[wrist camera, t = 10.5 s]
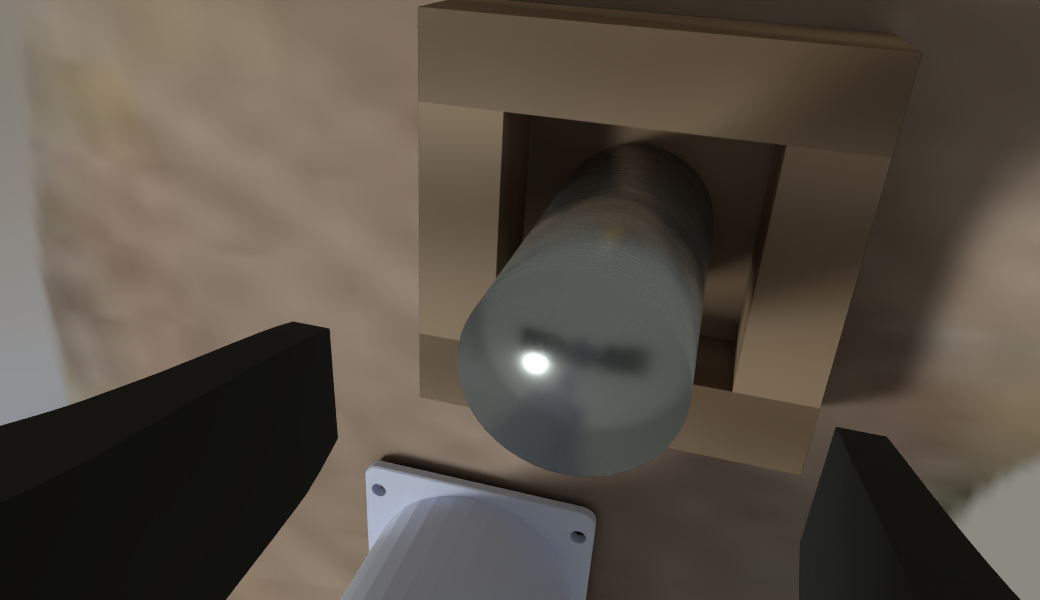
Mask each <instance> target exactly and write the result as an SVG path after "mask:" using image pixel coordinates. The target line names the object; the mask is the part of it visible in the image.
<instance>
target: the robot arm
mask: <svg viewBox="0 0 1040 600" xmlns="http://www.w3.org/2000/svg"><path fill="white" fill-rule="evenodd" d="M337 439H338V434H337V421H336V407H335V394H334V381H333V368H332V355H331V342H330V329H329V328H324V327H318V326H313V325H308V324H303V323H298V322H290V323H287V324H283V325H280V326H277V327H274V328H271V329H268V330H266V331H263V332H260V333H257V334H255V335H252V336H250V337H247V338H245V339H242V340H240V341H237V342H235V343H232V344H230V345H227V346H225V347H222V348H220V349H217V350H215V351H212V352H210V353H207V354H205V355H202V356H200V357H197V358H195V359H192V360H190V361H187V362H185V363H182V364H180V365H177V366H175V367H172V368H170V369H167V370H165V371H162V372H160V373H157V374H155V375H152V376H149V377H146V378H144V379H141V380H138V381H136V382H133V383H130V384H127V385H125V386H122V387H119V388H116V389H114V390H111V391H108V392H105V393H103V394H100V395H97V396H95V397H92V398H89V399H86V400H83V401H80V402H77V403H74V404H71V405H68V406H66V407H63V408H59V409H56V410H53V411H50V412H46V413H43V414H40V415H36V416H33V417H29V418H26V419H22V420H19V421H16V422H12V423H9V424H5V425H2V426H0V600H226V599H227V598H228V596H229V595H230V594H231V592H232V591H233V590H234V588H235V587H236V586H237V585H238V583H239V582H240V581H241V579H242V578H243V577H244V575H245V574H246V573H247V572H248V570H249V569H250V568H251V566H252V565H253V564H254V563H255V561H256V560H257V559H258V557H259V556H260V555H261V553H262V552H263V551H264V550H265V548H266V547H267V546H268V544H269V543H270V542H271V541H272V539H273V538H274V537H275V535H276V534H277V533H278V531H279V530H280V529H281V527H282V526H283V525H284V523H285V522H286V521H287V519H288V518H289V517H290V515H291V514H292V513H293V512H294V510H295V509H296V508H297V506H298V505H299V503H300V502H301V501H302V499H303V498H304V497H305V495H306V494H307V492H308V491H309V489H310V487H311V486H312V484H313V482H314V480H315V479H316V477H317V475H318V474H319V472H320V470H321V469H322V467H323V465H324V463H325V461H326V459H327V458H328V456H329V454H330V452H331V450H332V448H333V446H334V445H335V443H336V441H337ZM378 484H379V485H382V486H383V487H384V488H385V489H383V488H381V487H380V486H379V485H378ZM366 496H367V517H368V538H369V553H368V555H367V557H366V558H365V560H364V562H363V563H362V565H361V567H360V568H359V570H358V572H357V573H356V575H355V577H354V578H353V580H352V581H351V583H350V585H349V586H348V588H347V590H346V591H345V593H344V595H343V596H342V598H341V600H586V596H587V589H588V581H589V574H590V567H591V559H592V552H593V544H594V537H595V530H596V516H595V515H594V513H593V512H592V511H591V510H589V509H587V508H585V507H582V506H577V505H573V504H569V503H564V502H560V501H556V500H551V499H547V498H542V497H538V496H534V495H529V494H525V493H520V492H516V491H512V490H507V489H503V488H499V487H494V486H490V485H485V484H481V483H477V482H472V481H468V480H463V479H459V478H455V477H450V476H446V475H441V474H437V473H433V472H428V471H424V470H420V469H415V468H411V467H406V466H402V465H398V464H393V463H389V462H384V461H375V462H373V463H372V464H371V465H370V466H369V468H368V469H367V470H366ZM574 531H579V532H582V533H583V534H584V535H578V534H576V533H575V532H574ZM799 600H1020V599H1019V598H1018V597H1017V595H1016V594H1015V593H1014V592H1013V591H1012V590H1011V589H1010V588H1009V587H1008V585H1007V584H1006V583H1005V582H1004V581H1003V580H1002V579H1001V578H1000V576H999V575H998V574H997V573H996V572H995V571H994V570H993V568H992V567H991V566H990V565H989V564H988V563H987V561H986V560H985V559H984V558H983V557H982V556H981V554H980V553H979V552H978V551H977V550H976V548H975V547H974V546H973V545H972V544H971V542H970V541H969V540H968V539H967V538H966V536H965V535H964V534H963V533H962V532H961V530H960V529H959V528H958V527H957V525H956V524H955V523H954V522H953V521H952V519H951V518H950V517H949V516H948V514H947V513H946V512H945V511H944V509H943V508H942V507H941V506H940V504H939V503H938V502H937V500H936V499H935V498H934V497H933V495H932V494H931V493H930V492H929V490H928V489H927V488H926V486H925V485H924V484H923V483H922V481H921V480H920V479H919V477H918V476H917V475H916V474H915V472H914V471H913V470H912V468H911V467H910V466H909V465H908V463H907V462H906V461H905V459H904V458H903V457H902V455H901V454H900V453H899V452H898V450H897V449H896V448H895V447H894V445H893V444H892V443H891V442H890V440H889V439H888V438H887V437H886V436H880V435H875V434H870V433H865V432H860V431H855V430H849V429H844V428H839V427H836V428H835V431H834V435H833V438H832V441H831V444H830V448H829V451H828V454H827V457H826V461H825V464H824V467H823V470H822V474H821V477H820V480H819V483H818V487H817V490H816V493H815V496H814V499H813V503H812V506H811V509H810V512H809V516H808V519H807V522H806V525H805V529H804V532H803V535H802V538H801V542H800V574H799Z"/></svg>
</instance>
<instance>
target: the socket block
mask: <svg viewBox="0 0 1040 600" xmlns="http://www.w3.org/2000/svg"><path fill="white" fill-rule="evenodd" d="M921 55H922V52H920V51H919V50H917V49H916V48H914V47H913V46H911V45H910V44H908V43H907V42H905V41H904V40H903V39H901V38H900V37H898V36H897V35H895V34H890V33H879V32H867V31H856V30H844V29H833V28H821V27H810V26H798V25H787V24H775V23H764V22H752V21H741V20H729V19H718V18H706V17H695V16H683V15H672V14H660V13H649V12H637V11H626V10H614V9H603V8H591V7H580V6H568V5H557V4H545V3H534V2H522V1H511V0H446V1H441V2H437V3H432V4H428V5H424V6H419V7H418V142H419V337H420V397H423V398H428V399H433V400H438V401H443V402H447V403H452V404H457V405H462V406H467V407H469V405H468V403H467V400H466V398H465V396H464V393H463V390H462V387H461V384H460V380H459V375H458V365H457V354H458V345H459V341H460V336H461V333H462V330H463V328H464V325H465V323H466V321H467V319H468V318H469V316H470V314H471V313H472V311H473V309H474V308H475V307H476V305H477V304H478V303H479V301H480V300H481V299H482V297H483V296H484V294H485V293H486V292H487V290H488V289H489V288H490V286H491V285H492V283H493V282H494V281H495V279H496V278H497V277H498V275H499V274H500V272H501V271H502V270H503V268H504V267H505V266H506V264H507V263H508V262H509V260H510V259H511V257H512V256H513V255H514V253H515V252H516V251H517V249H518V248H519V246H520V245H521V244H522V242H523V241H524V240H525V238H526V237H527V235H528V234H529V233H530V231H531V230H532V229H533V227H534V226H535V224H536V223H537V222H538V220H539V219H540V218H541V216H542V215H543V214H544V212H545V211H546V209H547V208H548V207H549V205H550V204H551V203H552V201H553V200H554V198H555V197H556V196H557V194H558V193H559V192H560V190H561V189H562V187H563V186H564V185H565V183H566V182H567V181H568V179H569V178H570V177H571V175H572V174H573V173H574V171H575V170H576V169H577V168H578V167H579V166H580V165H581V164H582V163H583V162H584V161H585V160H587V159H588V158H589V157H591V156H592V155H594V154H596V153H598V152H600V151H602V150H604V149H607V148H610V147H612V146H617V145H622V144H646V145H652V146H656V147H659V148H662V149H665V150H667V151H669V152H671V153H673V154H675V155H677V156H678V157H680V158H681V159H683V160H684V161H685V162H686V163H688V164H689V165H690V166H691V167H692V168H693V169H694V170H695V171H696V172H697V174H698V175H699V176H700V178H701V179H702V181H703V182H704V184H705V186H706V188H707V190H708V192H709V195H710V198H711V201H712V206H713V214H714V224H713V233H712V241H711V249H710V256H709V264H708V272H707V280H706V288H705V295H704V303H703V311H702V319H701V327H700V334H699V342H698V350H697V358H696V366H695V374H694V381H693V389H692V397H691V404H690V408H689V411H688V415H687V418H686V420H685V422H684V424H683V427H682V429H681V430H680V432H679V433H678V435H677V436H676V438H675V439H674V440H673V442H672V443H671V444H670V445H669V446H668V447H667V448H670V449H675V450H680V451H685V452H690V453H694V454H699V455H704V456H709V457H714V458H719V459H724V460H728V461H733V462H738V463H743V464H748V465H753V466H757V467H762V468H767V469H772V470H777V471H782V472H787V473H791V474H796V475H801V472H802V469H803V465H804V462H805V458H806V455H807V451H808V448H809V444H810V441H811V437H812V434H813V431H814V427H815V424H816V420H817V417H818V413H819V410H820V406H821V403H822V399H823V396H824V392H825V389H826V385H827V382H828V378H829V375H830V371H831V368H832V364H833V361H834V357H835V354H836V351H837V347H838V344H839V340H840V337H841V333H842V330H843V326H844V323H845V319H846V316H847V312H848V309H849V305H850V302H851V298H852V295H853V291H854V288H855V284H856V281H857V278H858V274H859V271H860V267H861V264H862V260H863V257H864V253H865V250H866V246H867V243H868V239H869V236H870V232H871V229H872V225H873V222H874V218H875V215H876V211H877V208H878V205H879V201H880V198H881V194H882V191H883V187H884V184H885V180H886V177H887V173H888V170H889V166H890V163H891V159H892V156H893V152H894V149H895V145H896V142H897V138H898V135H899V132H900V128H901V125H902V121H903V118H904V114H905V111H906V107H907V104H908V100H909V97H910V93H911V90H912V86H913V83H914V79H915V76H916V72H917V69H918V65H919V62H920V59H921Z"/></svg>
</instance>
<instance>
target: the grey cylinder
mask: <svg viewBox="0 0 1040 600" xmlns="http://www.w3.org/2000/svg"><path fill="white" fill-rule="evenodd" d="M713 224H714V214H713V206H712V201H711V198H710V195H709V192H708V190H707V188H706V186H705V184H704V182H703V181H702V179H701V178H700V176H699V175H698V174H697V172H696V171H695V170H694V169H693V168H692V167H691V166H690V165H689V164H688V163H686V162H685V161H684V160H683V159H681V158H680V157H678V156H677V155H675V154H673V153H671V152H669V151H667V150H665V149H662V148H659V147H656V146H652V145H646V144H622V145H617V146H612V147H610V148H607V149H604V150H602V151H600V152H598V153H596V154H594V155H592V156H591V157H589V158H588V159H587V160H585V161H584V162H583V163H582V164H581V165H580V166H579V167H578V168H577V169H576V170H575V171H574V173H573V174H572V175H571V177H570V178H569V179H568V181H567V182H566V183H565V185H564V186H563V187H562V189H561V190H560V192H559V193H558V194H557V196H556V197H555V198H554V200H553V201H552V203H551V204H550V205H549V207H548V208H547V209H546V211H545V212H544V214H543V215H542V216H541V218H540V219H539V220H538V222H537V223H536V224H535V226H534V227H533V229H532V230H531V231H530V233H529V234H528V235H527V237H526V238H525V240H524V241H523V242H522V244H521V245H520V246H519V248H518V249H517V251H516V252H515V253H514V255H513V256H512V257H511V259H510V260H509V262H508V263H507V264H506V266H505V267H504V268H503V270H502V271H501V272H500V274H499V275H498V277H497V278H496V279H495V281H494V282H493V283H492V285H491V286H490V288H489V289H488V290H487V292H486V293H485V294H484V296H483V297H482V299H481V300H480V301H479V303H478V304H477V305H476V307H475V308H474V309H473V311H472V313H471V314H470V316H469V318H468V319H467V321H466V323H465V325H464V328H463V330H462V333H461V336H460V341H459V345H458V354H457V365H458V375H459V380H460V384H461V387H462V390H463V393H464V396H465V398H466V400H467V403H468V405H469V407H470V409H471V410H472V412H473V413H474V415H475V417H476V418H477V420H478V421H479V422H480V423H481V425H482V426H483V427H484V428H485V430H486V431H487V432H488V433H489V434H490V435H491V436H492V437H493V438H494V439H495V440H496V441H497V442H499V443H500V444H501V445H502V446H504V447H505V448H506V449H507V450H509V451H510V452H512V453H513V454H515V455H517V456H518V457H520V458H521V459H523V460H525V461H527V462H529V463H531V464H533V465H536V466H538V467H541V468H544V469H546V470H549V471H553V472H557V473H560V474H566V475H572V476H583V477H597V476H608V475H614V474H619V473H623V472H626V471H629V470H632V469H635V468H637V467H639V466H642V465H644V464H645V463H647V462H649V461H650V460H652V459H654V458H655V457H657V456H658V455H659V454H660V453H661V452H663V451H664V450H665V449H666V448H667V447H668V446H669V445H670V444H671V443H672V442H673V440H674V439H675V438H676V436H677V435H678V433H679V432H680V430H681V429H682V427H683V424H684V422H685V420H686V418H687V415H688V411H689V408H690V404H691V397H692V389H693V381H694V374H695V366H696V358H697V350H698V342H699V334H700V327H701V319H702V311H703V303H704V295H705V288H706V280H707V272H708V264H709V256H710V249H711V241H712V233H713Z"/></svg>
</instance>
